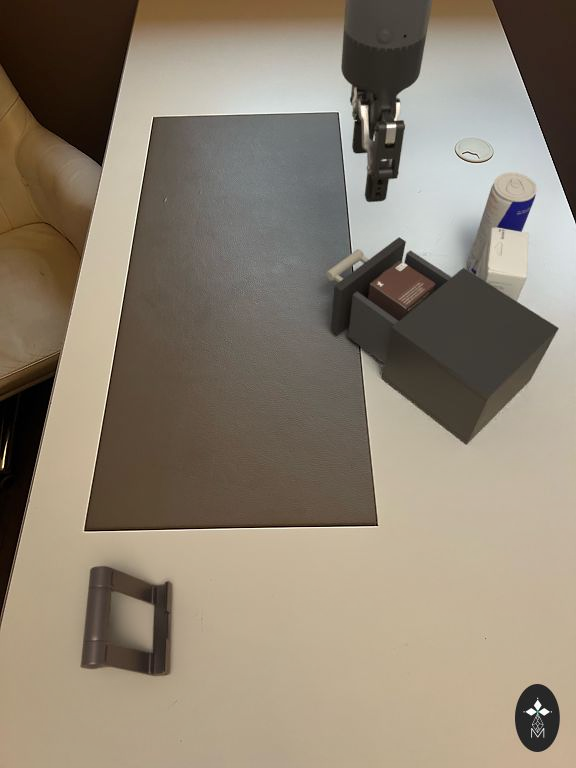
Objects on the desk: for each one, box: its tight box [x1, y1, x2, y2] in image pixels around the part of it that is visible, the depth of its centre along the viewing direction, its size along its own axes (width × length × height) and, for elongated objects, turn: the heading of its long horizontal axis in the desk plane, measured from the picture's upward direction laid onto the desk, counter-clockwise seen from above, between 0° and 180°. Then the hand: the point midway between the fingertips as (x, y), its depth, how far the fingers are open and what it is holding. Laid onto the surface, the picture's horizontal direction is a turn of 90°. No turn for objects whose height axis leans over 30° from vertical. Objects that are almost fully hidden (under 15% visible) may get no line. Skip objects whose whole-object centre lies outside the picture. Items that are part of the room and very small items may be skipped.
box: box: [368, 261, 435, 321], centre depth 81 cm, size 6×6×7 cm
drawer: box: [325, 236, 453, 365], centre depth 81 cm, size 17×12×9 cm
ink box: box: [476, 227, 530, 302], centre depth 82 cm, size 9×5×12 cm, turn 167°
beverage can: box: [466, 172, 538, 275], centre depth 86 cm, size 6×6×15 cm
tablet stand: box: [80, 565, 173, 677], centre depth 60 cm, size 9×8×8 cm
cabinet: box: [381, 267, 559, 445], centre depth 76 cm, size 14×14×11 cm
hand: (368, 174), depth 70 cm, fingers open, 8 cm apart
